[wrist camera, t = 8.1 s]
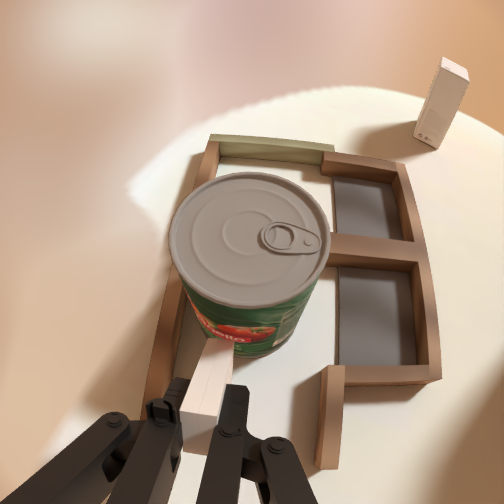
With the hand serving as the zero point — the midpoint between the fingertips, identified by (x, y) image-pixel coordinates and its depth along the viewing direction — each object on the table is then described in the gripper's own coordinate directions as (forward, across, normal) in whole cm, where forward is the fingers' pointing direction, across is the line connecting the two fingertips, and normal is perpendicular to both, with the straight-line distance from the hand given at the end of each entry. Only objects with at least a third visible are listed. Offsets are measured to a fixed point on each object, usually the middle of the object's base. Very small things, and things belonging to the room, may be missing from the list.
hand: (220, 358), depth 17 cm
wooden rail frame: (+9, +6, +3) cm, 11 cm away
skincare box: (+26, +25, +20) cm, 41 cm away
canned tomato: (+7, +1, 0) cm, 7 cm away
